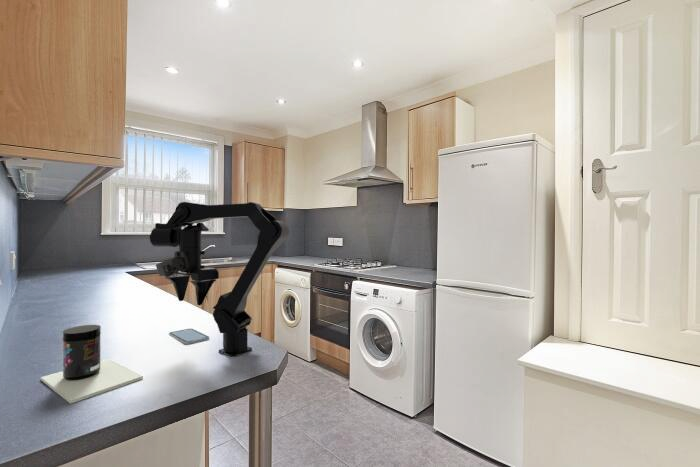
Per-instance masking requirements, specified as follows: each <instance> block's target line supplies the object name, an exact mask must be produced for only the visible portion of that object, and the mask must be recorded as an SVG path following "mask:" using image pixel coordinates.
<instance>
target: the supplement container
mask: <svg viewBox="0 0 700 467" xmlns="http://www.w3.org/2000/svg"><path fill="white" fill-rule="evenodd" d="M101 329H102V328H101V325H100V324H86V325H78V326H73V327H69V328H66V329H64V330H62V332H61V333H62V334H61V335H62V338H61V339H62V371H63V377H64V379H66V380H81V379H85V378H88V377H91V376H93V375H95V374H97V373H98V372H99V371H100V361H101V333H102V332H101Z"/></svg>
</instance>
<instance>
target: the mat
mask: <svg viewBox="0 0 700 467" xmlns="http://www.w3.org/2000/svg"><path fill="white" fill-rule="evenodd" d="M143 379H144V376H143V375H142V374H140V373H138V372H135V371H134V370H132V369H130V368H128V367H126V366H124V365H121V363H118V362H116V361H114V360H113V359H110V358H107V359H102V360H100V371H99V372H98V373H97V374H95V375H93V376H91V377H88V378H85V379H81V380H66V379H64V377H63V370H62V371H59V372H58V371H57V372H55V373H52V374H48V375H43V376H41V377H40V381H41V382H43V383H44V384H45V385H46V386H48V387H49V388H50V389H52V390H53V391H54V392H55V393H56V394H58V395H59V396H60V397H61V398H63V399H64V400H65V401H67V403H69V404H70V405H71V404H74V403H76V402H79V401H83V400H85V399H88V398H91V397H94V396H97V395H100V394H103V393H105V392H109V391H111V390H114V389H117V388H121V387H122V386H125V385H129V384H132V383H134V382H138V381H140V380H143Z"/></svg>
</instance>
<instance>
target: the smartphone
mask: <svg viewBox="0 0 700 467" xmlns="http://www.w3.org/2000/svg"><path fill="white" fill-rule="evenodd" d="M168 335H169V336H171V337H172V338H174V339H176V340H177V341H178V342H180V343H182V344H183V345H192V344H195V343H199V342H204V341H208V340H210V336H209V335H207V334H205V333H202V332H200V331H198V330H197V329H194V328H184V329H180V330H175V331H170V332H168Z"/></svg>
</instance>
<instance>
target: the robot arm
mask: <svg viewBox="0 0 700 467" xmlns="http://www.w3.org/2000/svg"><path fill="white" fill-rule="evenodd" d="M174 210H175V211H174V212H173V214H172V215H171V216H170V217H169V219H168V221H166V223H164V222H163V223H161V222H156V223H155V225H154V228H153V229H151V232H150V234H149V241H150V242H149V243H151V245H152V246H153V247H155V248H177V247H178V250H176V251H175V252H174V257H171V258H168V259H165V260H163V261H161V262H159V263H156V264H155V267H156V271H157V272H158V275H159V277H164V278H165V279H166V280H168V281H169V282H171V283H172V286H173V288H174V290H175V294H176V297H177V299H178V301H179V302H183V301H184V299H185V296H186V293H187V289H188V286H189V282H190V283H191V284H192V285H193V286H194V287H195V288H194V289H195V296H196V297H195V298H196V303H197V304H196V305H197V306H201V305H203V303H204V301H205V299H206V297H207V295H208V294H209V292H210V289H211V287H212V286H213V284H214V283H215V282H216V281H217V280H218V279H220V271H219V269H217V268H213V267H206V266H205V265H203V264H202V255H206V253H205V252H206V251H205V250H202V232H209V231H210V228H208V227H207V226H206V225H205V224H204V222H208V221H211V220H215V219H233V218H234V219H235V218H249V220H250V221H251V223H252V224H253V225H254V226H255V228H256V229H257V230H259V233H258V235H257V241H256V247H255V249H254V251H253V253H252V254H251V257H250V258H249V260H248V262H246V265H245V267H244V269H243V271H242V272H241V273H240V276H239V277H238V280H237V281H236V282H235V285H234V286H233V288H232V290H231V291H229V292H227V293H223V294H221V295H220V296H219V298H218V299H217V302H216V304H215V305H214V306H213V307H212V309H213V313H212V317H213V320H214V322H215V323H216V324H217V328H218V331H219V333H220V334H222V347H223V348H220V349H218V353H220V354H224V355H225V356H229V357H237V356H239V355H241V354H245V353H247V352H250V351H252V350H253V348H252V347H251V346H248V328H247V327H248V326H250V325H251V322H252V320H253V319H252V317H251V316H250V314H248V312H247V311H245V310H246V307H247V301H248V297H249V294H250V292H251V291H252V289H253V287H254V286H255V284H256V282H257V280H258V279H259V277H260V275H261V273H262V272H263V270H264V268H265V266H266V265H267V262H268V261H269V259H270V257H271V255H272V254H273V253H274V252H275V251H276V250H277V249H278V248H280V246H281V245H282V244H283V243H284V242H285V240H287V238H288V236H289V234H290V229H289V227H288V225H287V223H285V221H282V220H278V219H277V217H275V216H273V214H271V213H270V212H269V211H268V210H266V209H265V208H264V207H263V206H262V205H261V204H260V203H259V202H258V203H257V202H252V201H251V202H245V203H243V202H242V203H227V204H223V203H222V204H202V203H194V202H188V201H187V202H186V201H181V202H179V203H178V204H177V206H176V208H175V209H174ZM194 224H195V225H194ZM190 278H191V281H190Z"/></svg>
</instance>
